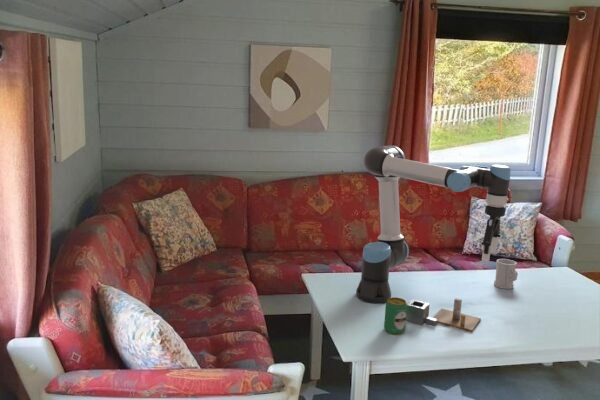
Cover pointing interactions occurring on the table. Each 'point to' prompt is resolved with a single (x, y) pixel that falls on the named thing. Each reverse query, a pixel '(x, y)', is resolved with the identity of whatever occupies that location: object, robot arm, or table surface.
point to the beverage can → (395, 316)
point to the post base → (454, 323)
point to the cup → (505, 273)
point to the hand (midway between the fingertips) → (489, 256)
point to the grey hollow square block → (419, 313)
